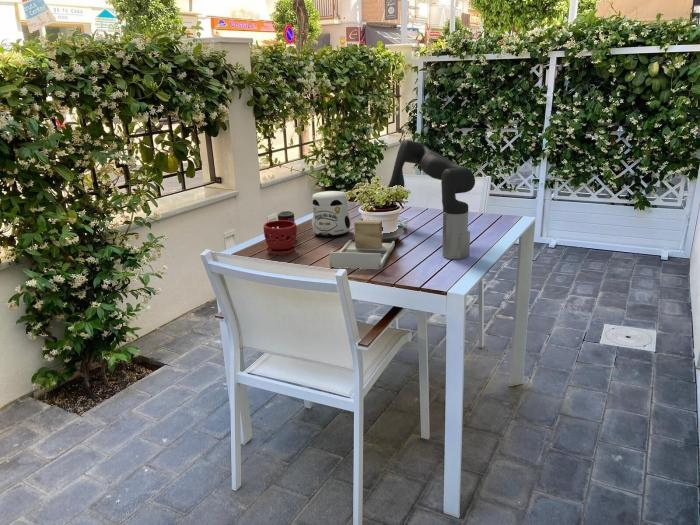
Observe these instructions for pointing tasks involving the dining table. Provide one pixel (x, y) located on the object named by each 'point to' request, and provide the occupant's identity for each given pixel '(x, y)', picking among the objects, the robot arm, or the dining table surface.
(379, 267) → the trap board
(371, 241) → the oak block
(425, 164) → the robot arm
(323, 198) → the milk container
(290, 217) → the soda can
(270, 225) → the plant pot
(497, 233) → the dining table surface
